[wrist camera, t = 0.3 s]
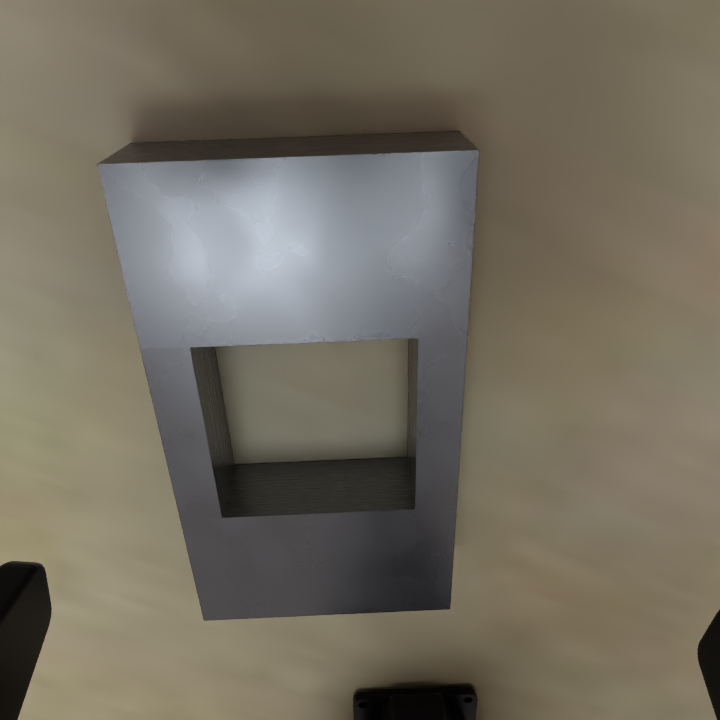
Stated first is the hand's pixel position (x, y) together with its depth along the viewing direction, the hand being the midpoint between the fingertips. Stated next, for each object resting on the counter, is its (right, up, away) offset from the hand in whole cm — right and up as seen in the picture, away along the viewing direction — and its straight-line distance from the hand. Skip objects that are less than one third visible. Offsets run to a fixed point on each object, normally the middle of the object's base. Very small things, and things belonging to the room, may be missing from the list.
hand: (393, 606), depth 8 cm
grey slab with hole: (-2, +2, +15) cm, 15 cm away
